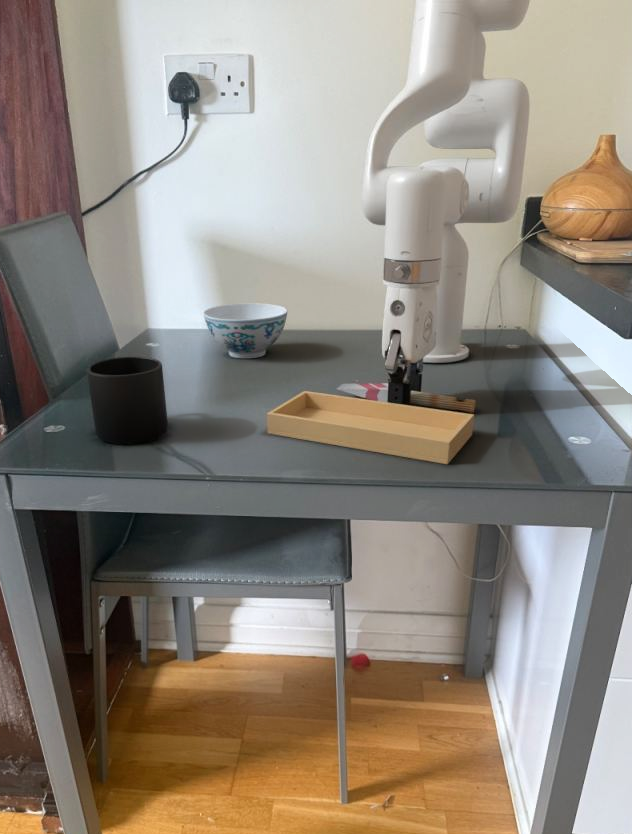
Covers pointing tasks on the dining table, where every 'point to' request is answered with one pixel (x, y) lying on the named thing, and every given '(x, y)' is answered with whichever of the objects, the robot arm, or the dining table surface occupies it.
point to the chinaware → (246, 327)
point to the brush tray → (373, 426)
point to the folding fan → (381, 394)
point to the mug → (128, 399)
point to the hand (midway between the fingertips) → (404, 402)
